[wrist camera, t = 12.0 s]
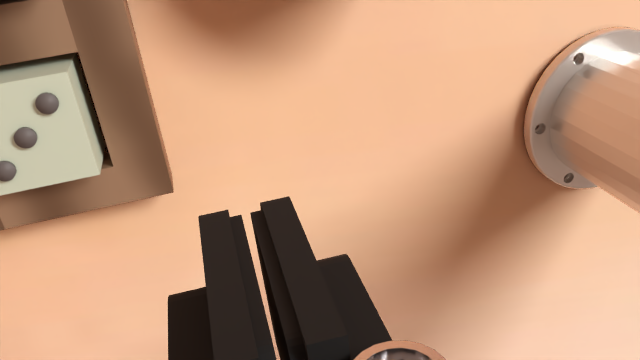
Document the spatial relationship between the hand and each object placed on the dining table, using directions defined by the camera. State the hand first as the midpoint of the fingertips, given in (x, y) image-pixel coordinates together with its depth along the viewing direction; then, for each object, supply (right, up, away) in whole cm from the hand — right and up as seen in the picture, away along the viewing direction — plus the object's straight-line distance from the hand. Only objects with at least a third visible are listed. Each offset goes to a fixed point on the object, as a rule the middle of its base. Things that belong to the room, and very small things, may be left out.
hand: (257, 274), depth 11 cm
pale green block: (-16, +6, +24) cm, 30 cm away
